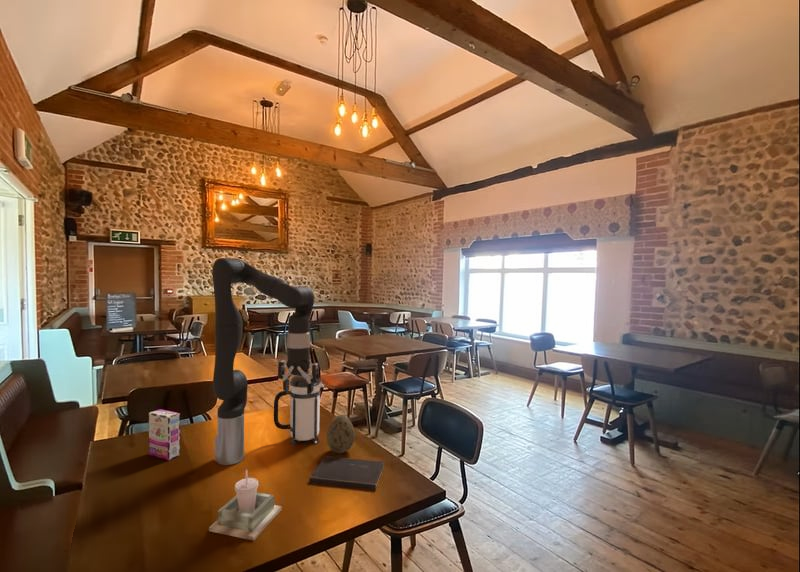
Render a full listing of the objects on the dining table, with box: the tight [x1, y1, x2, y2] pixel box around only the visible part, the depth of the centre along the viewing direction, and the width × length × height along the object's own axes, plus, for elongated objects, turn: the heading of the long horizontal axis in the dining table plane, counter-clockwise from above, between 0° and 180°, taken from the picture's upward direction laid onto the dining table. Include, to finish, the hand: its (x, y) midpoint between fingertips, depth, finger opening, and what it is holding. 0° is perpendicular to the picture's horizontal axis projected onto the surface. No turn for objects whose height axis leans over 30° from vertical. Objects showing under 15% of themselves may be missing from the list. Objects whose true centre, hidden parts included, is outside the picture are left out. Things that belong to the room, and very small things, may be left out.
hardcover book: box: [308, 455, 386, 491], centre depth 139 cm, size 16×23×2 cm
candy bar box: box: [148, 408, 181, 461], centre depth 150 cm, size 11×5×16 cm, turn 68°
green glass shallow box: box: [208, 491, 283, 541], centre depth 113 cm, size 14×14×5 cm
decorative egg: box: [326, 414, 356, 454], centre depth 156 cm, size 11×11×15 cm
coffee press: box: [273, 372, 325, 446], centre depth 166 cm, size 17×16×30 cm
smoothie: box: [234, 469, 259, 514], centre depth 113 cm, size 6×6×14 cm
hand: (298, 392), depth 135 cm, fingers open, 8 cm apart
